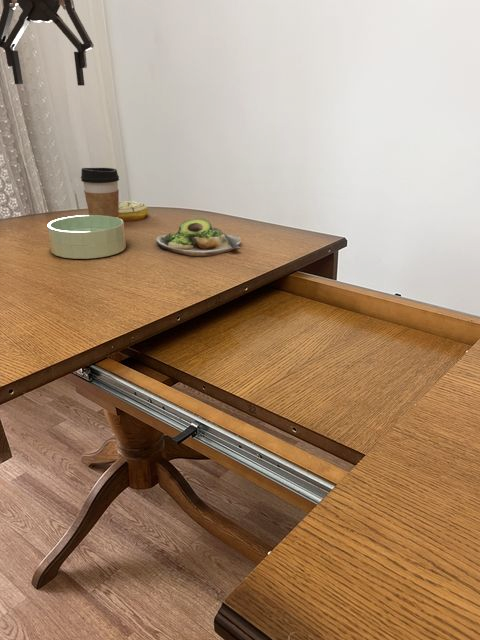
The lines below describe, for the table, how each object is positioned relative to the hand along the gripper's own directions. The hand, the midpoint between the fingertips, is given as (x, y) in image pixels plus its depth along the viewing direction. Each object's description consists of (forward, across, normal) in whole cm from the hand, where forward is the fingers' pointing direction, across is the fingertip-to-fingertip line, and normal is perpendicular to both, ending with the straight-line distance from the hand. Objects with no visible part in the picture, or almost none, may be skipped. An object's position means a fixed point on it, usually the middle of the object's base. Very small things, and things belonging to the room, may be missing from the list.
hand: (50, 85), depth 120 cm
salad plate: (+32, +33, -15) cm, 48 cm away
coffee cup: (+32, +10, -5) cm, 34 cm away
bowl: (+32, +10, -20) cm, 39 cm away
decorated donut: (+32, +12, +11) cm, 36 cm away
